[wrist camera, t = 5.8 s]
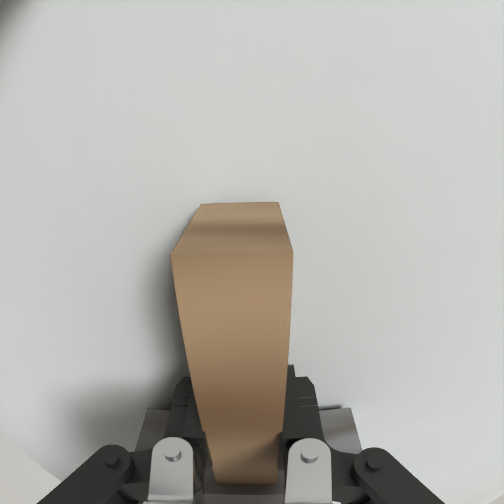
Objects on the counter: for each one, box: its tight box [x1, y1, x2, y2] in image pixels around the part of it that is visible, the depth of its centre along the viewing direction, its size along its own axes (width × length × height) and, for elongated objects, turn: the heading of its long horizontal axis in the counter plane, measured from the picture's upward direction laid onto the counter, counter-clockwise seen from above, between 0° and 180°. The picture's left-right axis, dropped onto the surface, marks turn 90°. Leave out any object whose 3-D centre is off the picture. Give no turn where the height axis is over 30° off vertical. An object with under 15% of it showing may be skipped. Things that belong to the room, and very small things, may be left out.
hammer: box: [135, 202, 362, 504], centre depth 10 cm, size 12×10×4 cm
